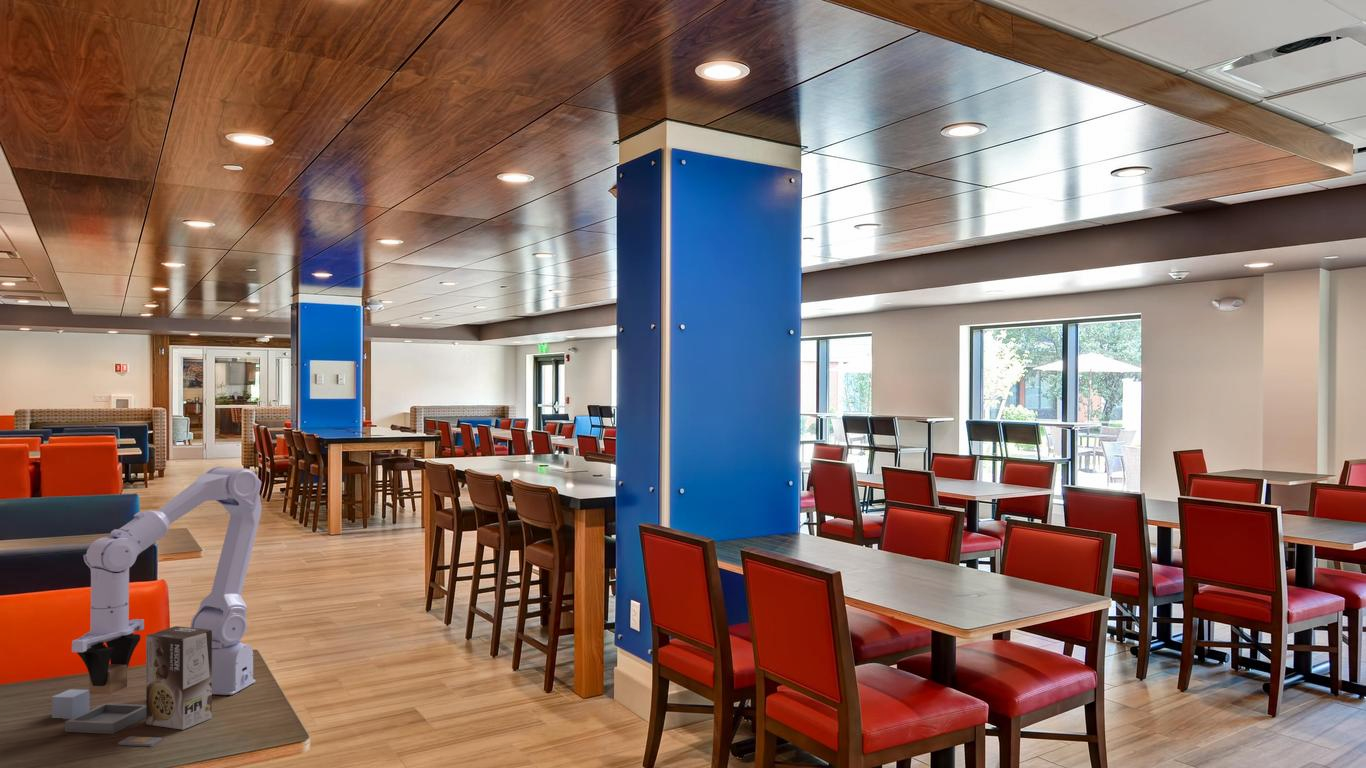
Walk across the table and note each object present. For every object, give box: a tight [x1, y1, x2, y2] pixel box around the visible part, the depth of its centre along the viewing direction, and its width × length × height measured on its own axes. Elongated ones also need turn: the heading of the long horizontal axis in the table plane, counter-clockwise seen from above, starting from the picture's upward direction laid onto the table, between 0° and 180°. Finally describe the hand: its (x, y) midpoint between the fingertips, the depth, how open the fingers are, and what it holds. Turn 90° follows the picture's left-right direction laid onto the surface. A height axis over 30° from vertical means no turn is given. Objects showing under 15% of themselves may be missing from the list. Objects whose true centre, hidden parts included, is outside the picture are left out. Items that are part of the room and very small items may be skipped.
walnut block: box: [88, 663, 128, 696], centre depth 153 cm, size 4×4×4 cm
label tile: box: [117, 735, 164, 747], centre depth 144 cm, size 6×3×1 cm, turn 84°
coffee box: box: [145, 625, 213, 731], centre depth 154 cm, size 9×6×16 cm
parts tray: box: [64, 702, 146, 735], centre depth 153 cm, size 9×9×2 cm
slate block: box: [51, 688, 91, 720], centre depth 157 cm, size 4×4×4 cm
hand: (109, 681), depth 153 cm, fingers closed on walnut block, 4 cm apart
